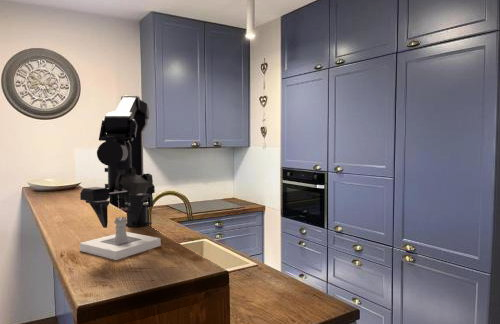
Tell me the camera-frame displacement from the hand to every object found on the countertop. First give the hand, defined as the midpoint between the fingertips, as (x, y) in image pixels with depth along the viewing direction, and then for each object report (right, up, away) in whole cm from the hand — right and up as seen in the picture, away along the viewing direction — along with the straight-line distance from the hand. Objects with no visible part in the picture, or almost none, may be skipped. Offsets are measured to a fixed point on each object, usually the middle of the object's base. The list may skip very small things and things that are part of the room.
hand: (120, 224), depth 91 cm
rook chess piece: (0, -7, +1) cm, 7 cm away
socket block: (0, -6, 0) cm, 6 cm away
